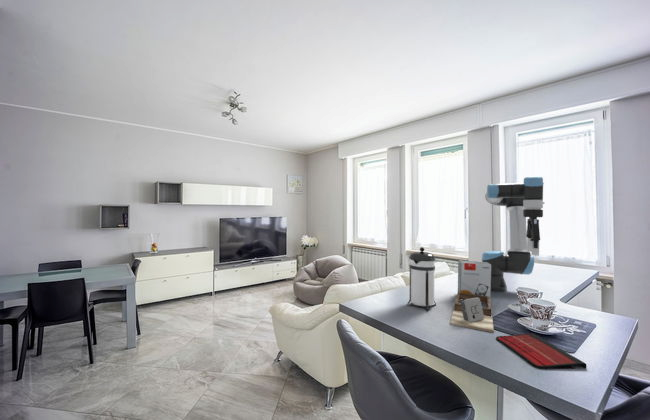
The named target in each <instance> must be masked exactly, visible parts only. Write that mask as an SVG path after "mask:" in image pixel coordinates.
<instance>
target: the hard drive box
mask: <svg viewBox="0 0 650 420" xmlns="http://www.w3.org/2000/svg"><path fill="white" fill-rule="evenodd" d="M457 261H458V262H457V265H458V267H457V293H458V292H459V293H466V294H474V295H481V296H488V297H490V298H491V264H489V263H488V262H482V261H476V260H460V259H459V260H457Z"/></svg>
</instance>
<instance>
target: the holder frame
mask: <svg viewBox="0 0 650 420" xmlns="http://www.w3.org/2000/svg"><path fill="white" fill-rule="evenodd" d="M476 297H478V298H480V302H481V304H486V305H487V307H484V306H482V310H483V314H484V315H485V316H491V317H492V303H491V296H490V297H488V296H481V295H474V294H466V293H459V292H458V291H457V293H456V298H455V300H454V310H455V311H461V312H462V309H461V304H460V301H464V300H466V299H471V298H476ZM464 309H465V308H464ZM464 311H465V310H464Z"/></svg>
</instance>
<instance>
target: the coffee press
mask: <svg viewBox="0 0 650 420" xmlns="http://www.w3.org/2000/svg"><path fill="white" fill-rule="evenodd" d="M408 259H409V264H408V267H409V300H408V301H407V303H406V305H407V306H408V307H411V306H413V305H416V306H420V307H424V309H425V311H430V306H434V307H436V306H437V302H435V278H436V277H435V270H436V266H435V262H436V257H435V255H434V254H433V253H430V252H426V251H425V248H424V247H420V248H419V251H414V252H413V251H412V252H411V254H410V255H409V256H408Z"/></svg>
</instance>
